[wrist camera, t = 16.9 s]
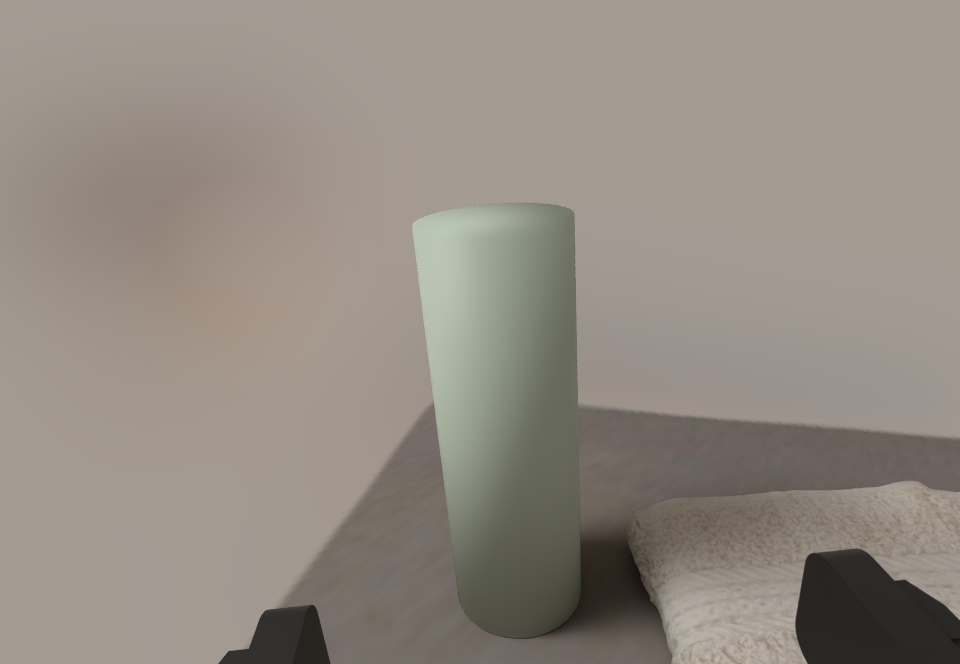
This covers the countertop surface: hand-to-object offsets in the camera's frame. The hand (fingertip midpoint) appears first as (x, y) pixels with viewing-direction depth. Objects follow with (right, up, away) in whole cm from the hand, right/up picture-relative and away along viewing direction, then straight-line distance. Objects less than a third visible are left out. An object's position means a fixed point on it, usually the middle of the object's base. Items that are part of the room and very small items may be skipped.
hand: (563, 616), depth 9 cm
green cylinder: (0, -6, +14) cm, 15 cm away
